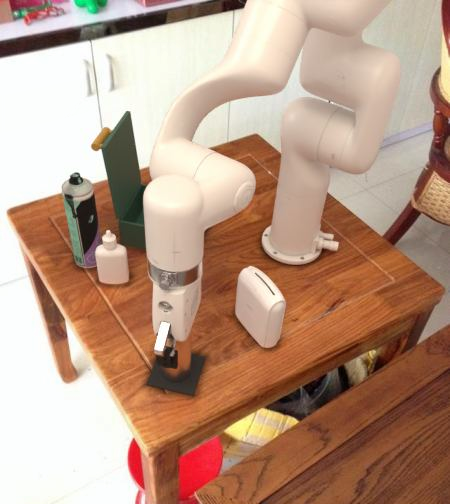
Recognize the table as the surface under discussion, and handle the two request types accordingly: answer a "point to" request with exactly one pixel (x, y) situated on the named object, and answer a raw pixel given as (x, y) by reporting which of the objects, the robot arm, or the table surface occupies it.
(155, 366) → the coaster
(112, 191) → the lid
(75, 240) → the spray can
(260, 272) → the photo printer
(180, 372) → the tin can
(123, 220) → the chest
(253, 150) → the table surface
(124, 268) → the eye dropper bottle
